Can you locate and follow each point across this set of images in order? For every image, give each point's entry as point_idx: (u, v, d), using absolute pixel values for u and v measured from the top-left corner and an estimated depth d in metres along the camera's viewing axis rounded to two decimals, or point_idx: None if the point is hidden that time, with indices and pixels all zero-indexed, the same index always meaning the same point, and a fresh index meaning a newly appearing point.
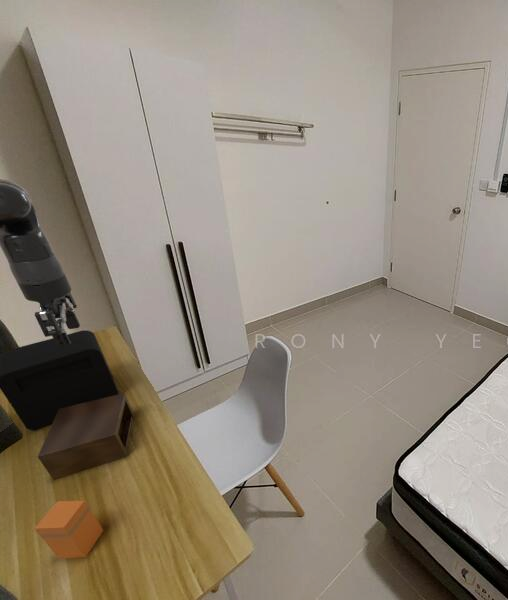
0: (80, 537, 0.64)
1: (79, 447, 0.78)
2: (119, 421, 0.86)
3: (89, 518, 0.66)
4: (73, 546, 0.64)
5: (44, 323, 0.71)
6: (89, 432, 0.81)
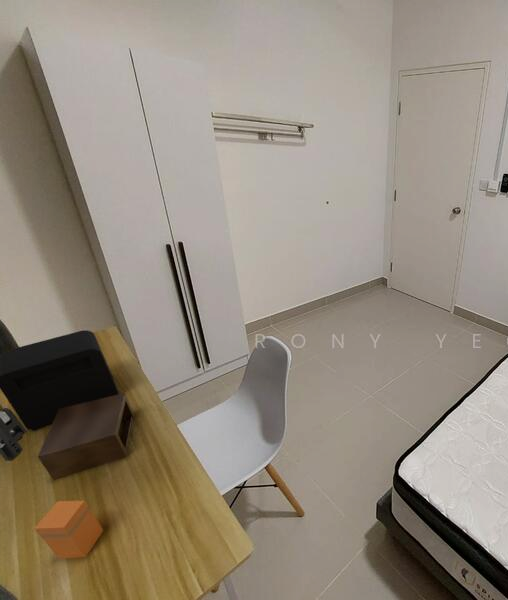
0: (80, 537, 0.64)
1: (79, 447, 0.78)
2: (119, 421, 0.86)
3: (89, 518, 0.66)
4: (73, 546, 0.64)
5: (8, 426, 0.53)
6: (89, 432, 0.81)
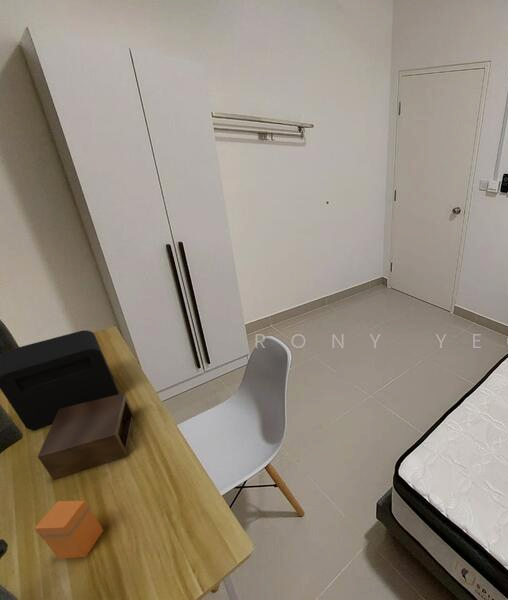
0: (80, 537, 0.64)
1: (79, 447, 0.78)
2: (119, 421, 0.86)
3: (89, 518, 0.66)
4: (73, 546, 0.64)
5: None
6: (89, 432, 0.81)
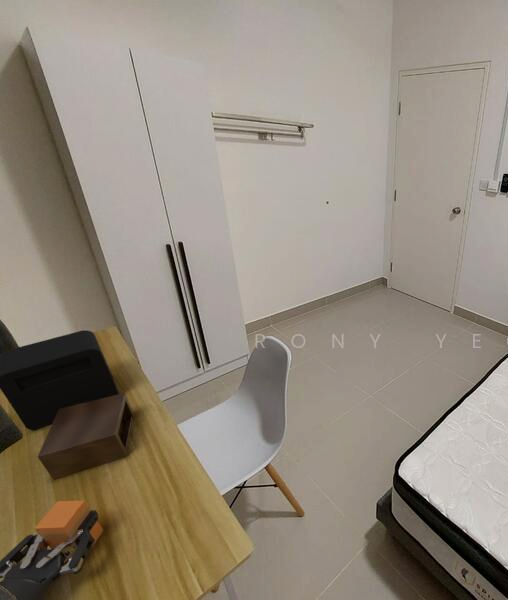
0: None
1: (79, 447, 0.78)
2: (119, 421, 0.86)
3: None
4: None
5: (85, 554, 0.61)
6: (89, 432, 0.81)
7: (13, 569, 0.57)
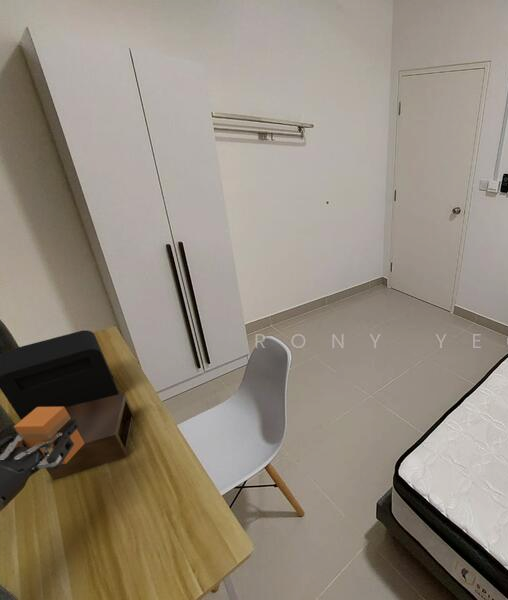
0: None
1: None
2: (119, 421, 0.86)
3: None
4: None
5: (64, 453, 0.62)
6: (89, 432, 0.81)
7: None
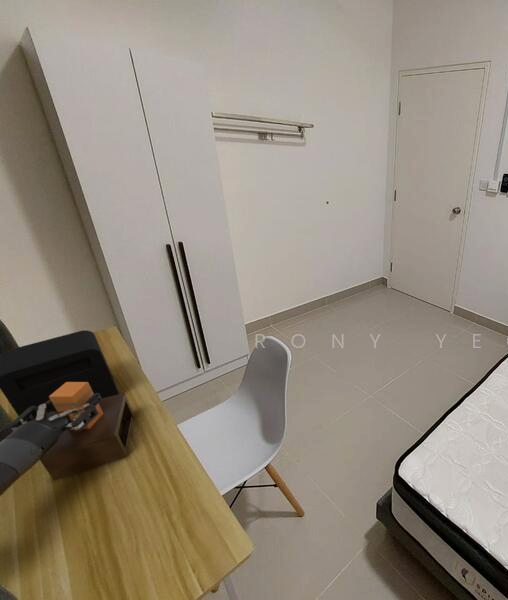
0: None
1: (79, 447, 0.78)
2: (119, 421, 0.86)
3: None
4: None
5: (87, 420, 0.76)
6: (89, 432, 0.81)
7: (30, 422, 0.73)
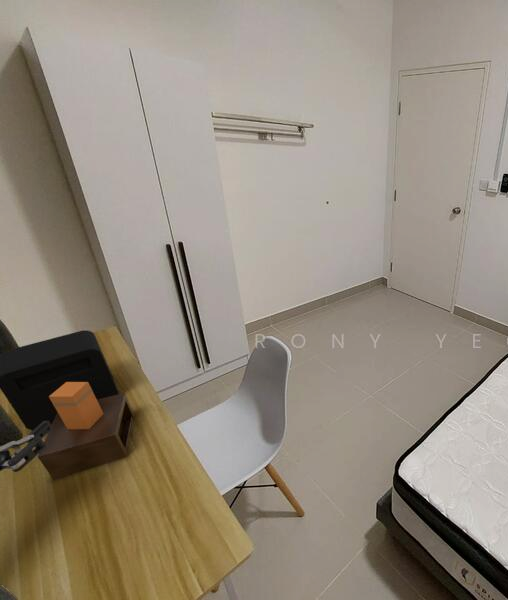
0: (84, 410, 0.80)
1: (79, 447, 0.78)
2: (119, 421, 0.86)
3: (91, 398, 0.82)
4: (79, 416, 0.80)
5: (29, 457, 0.63)
6: (89, 432, 0.81)
7: None
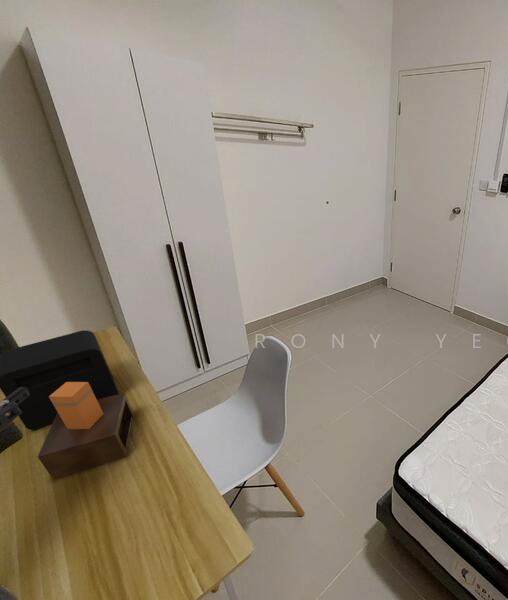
0: (84, 410, 0.80)
1: (79, 447, 0.78)
2: (119, 421, 0.86)
3: (91, 398, 0.82)
4: (79, 416, 0.80)
5: (2, 422, 0.58)
6: (89, 432, 0.81)
7: None
